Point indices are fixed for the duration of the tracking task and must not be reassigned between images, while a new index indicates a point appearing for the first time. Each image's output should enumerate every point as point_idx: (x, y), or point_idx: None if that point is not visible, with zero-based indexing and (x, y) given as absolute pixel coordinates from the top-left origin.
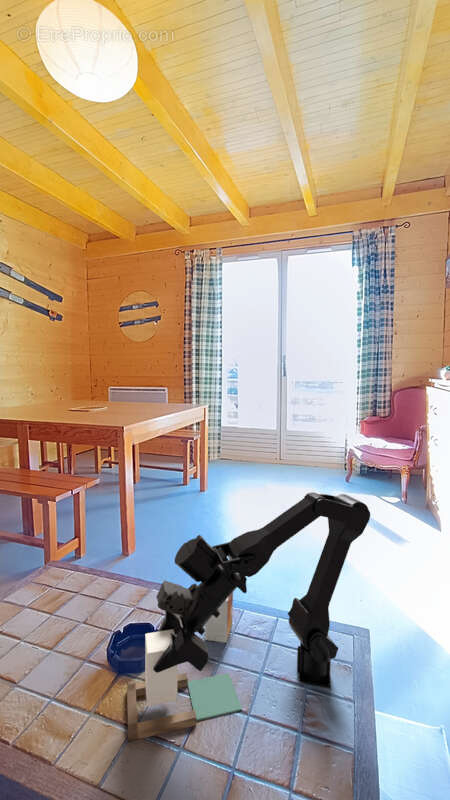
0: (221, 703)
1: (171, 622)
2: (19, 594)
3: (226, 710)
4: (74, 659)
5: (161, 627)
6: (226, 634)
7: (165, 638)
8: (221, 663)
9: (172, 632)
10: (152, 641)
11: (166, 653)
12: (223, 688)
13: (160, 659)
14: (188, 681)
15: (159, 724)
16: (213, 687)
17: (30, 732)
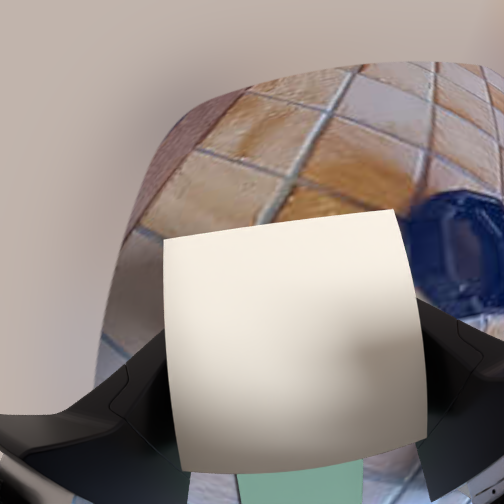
0: (269, 491)
1: (470, 425)
2: (496, 76)
3: (245, 497)
4: (425, 133)
5: (453, 335)
6: (466, 494)
7: (321, 389)
8: (401, 488)
9: (386, 440)
10: (295, 271)
11: (110, 381)
12: (315, 499)
13: (162, 341)
14: None
15: None
16: (324, 480)
17: (262, 103)
